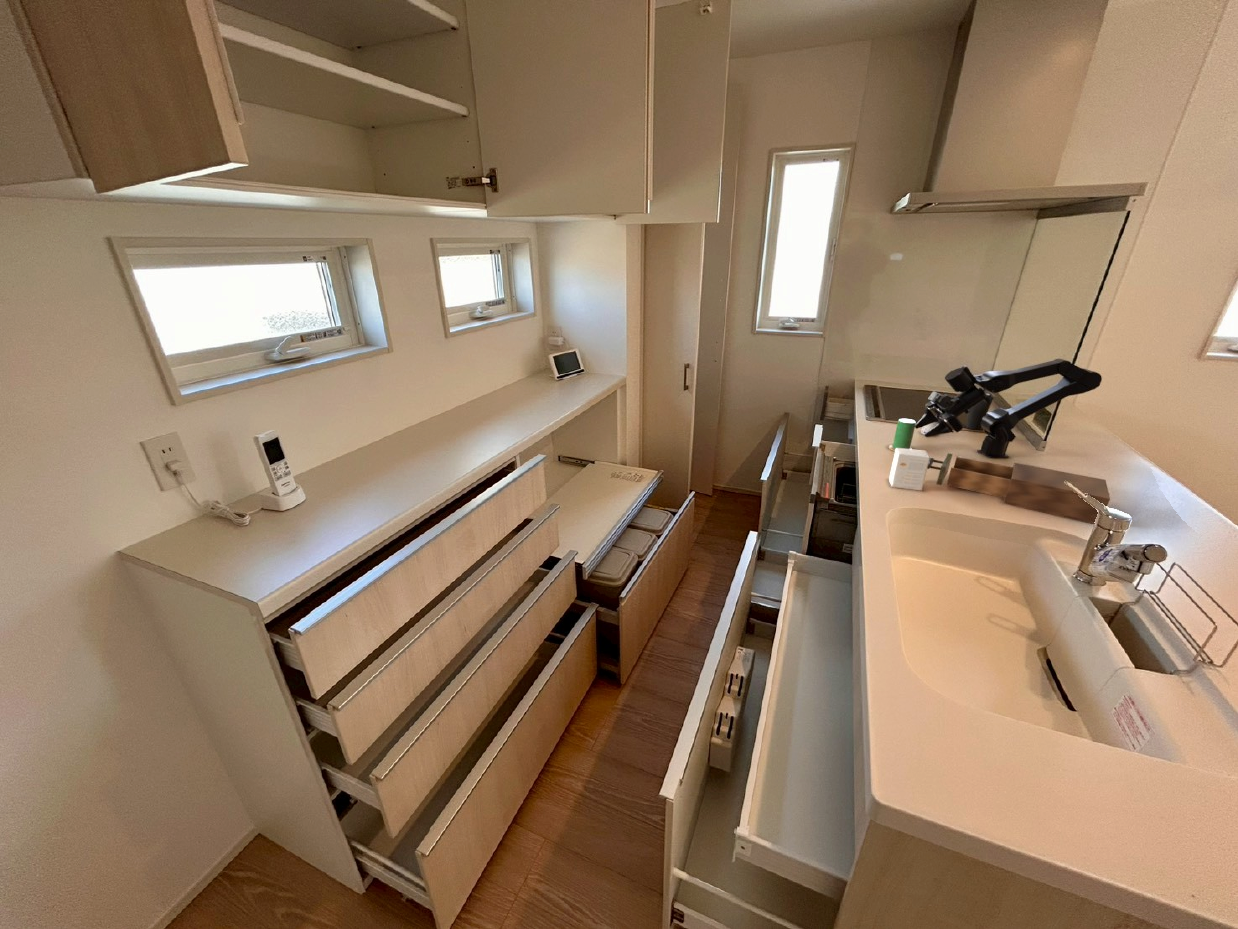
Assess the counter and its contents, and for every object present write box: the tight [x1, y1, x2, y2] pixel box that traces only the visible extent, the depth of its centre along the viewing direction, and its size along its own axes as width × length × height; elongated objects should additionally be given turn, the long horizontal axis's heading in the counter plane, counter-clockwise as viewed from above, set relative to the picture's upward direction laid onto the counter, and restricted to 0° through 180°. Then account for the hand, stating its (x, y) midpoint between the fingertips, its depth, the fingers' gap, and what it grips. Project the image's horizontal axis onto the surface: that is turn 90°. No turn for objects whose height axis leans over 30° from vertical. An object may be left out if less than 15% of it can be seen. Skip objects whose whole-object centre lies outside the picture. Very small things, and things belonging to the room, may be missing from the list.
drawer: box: [927, 452, 1013, 499], centre depth 144 cm, size 23×13×6 cm, turn 51°
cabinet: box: [1003, 462, 1111, 525], centre depth 133 cm, size 19×14×7 cm
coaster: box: [888, 444, 913, 452], centre depth 173 cm, size 8×8×1 cm
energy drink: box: [920, 418, 939, 437], centre depth 186 cm, size 5×5×12 cm
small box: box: [888, 448, 931, 491], centre depth 144 cm, size 8×6×10 cm
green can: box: [892, 418, 917, 449], centre depth 171 cm, size 5×5×10 cm
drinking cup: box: [965, 388, 996, 431], centre depth 191 cm, size 8×8×20 cm
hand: (920, 431), depth 170 cm, fingers open, 9 cm apart
